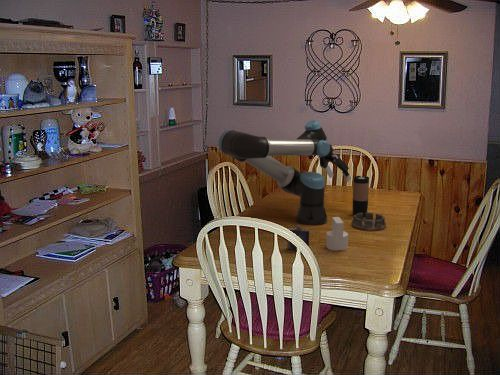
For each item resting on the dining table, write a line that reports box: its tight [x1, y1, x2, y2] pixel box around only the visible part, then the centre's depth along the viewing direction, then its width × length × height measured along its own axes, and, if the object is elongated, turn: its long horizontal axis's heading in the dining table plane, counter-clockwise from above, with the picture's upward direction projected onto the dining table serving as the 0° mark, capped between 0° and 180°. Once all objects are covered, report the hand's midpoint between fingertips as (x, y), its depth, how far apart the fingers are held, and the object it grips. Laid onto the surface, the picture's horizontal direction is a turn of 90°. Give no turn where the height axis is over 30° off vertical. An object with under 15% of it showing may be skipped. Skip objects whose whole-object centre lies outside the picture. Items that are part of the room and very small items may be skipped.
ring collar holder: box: [351, 212, 387, 232], centre depth 262 cm, size 16×16×4 cm
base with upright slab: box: [325, 216, 349, 251], centre depth 232 cm, size 9×9×12 cm
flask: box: [286, 224, 310, 251], centre depth 229 cm, size 9×3×11 cm, turn 72°
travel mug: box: [352, 175, 370, 218], centre depth 276 cm, size 8×8×20 cm
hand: (340, 178), depth 292 cm, fingers open, 13 cm apart
